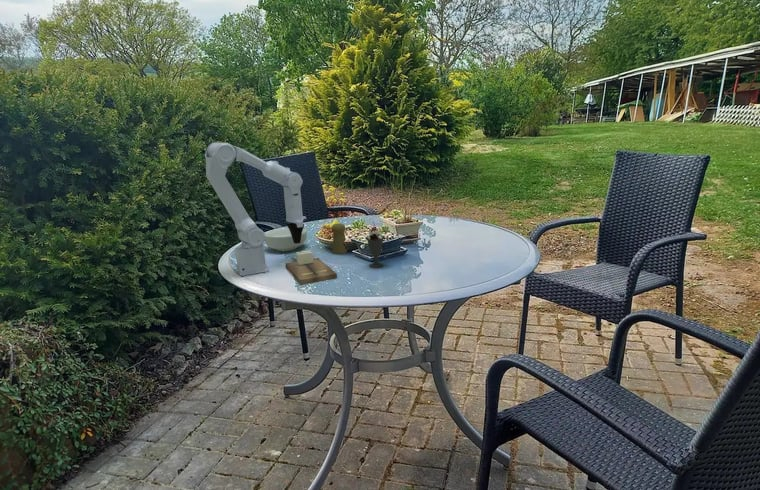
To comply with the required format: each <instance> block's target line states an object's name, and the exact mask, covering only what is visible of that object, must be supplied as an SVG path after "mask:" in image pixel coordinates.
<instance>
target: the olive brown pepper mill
mask: <svg viewBox="0 0 760 490" xmlns="http://www.w3.org/2000/svg"><path fill="white" fill-rule="evenodd" d="M345 231H346V226H345V224H343V223H333V224H332V226H331V232H332V248H331V253H332V254H333V253H334V255H343V254H347V253H348V252H347V250H348V249H347V250H346V249H345V246H344V245H343V244H342V243H343V242H344V241H345V240H346V236H345V235H346V234H345ZM346 252H347V253H346Z"/></svg>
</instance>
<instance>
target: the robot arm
mask: <svg viewBox="0 0 760 490" xmlns="http://www.w3.org/2000/svg"><path fill="white" fill-rule="evenodd" d="M204 159H205V176H206V178H207V180H208V182H209V183H210V185H211V186H212V188H213V190H214V191H215V193H216V195H217V196H218V198H219V199H220V201H221V203H222V204H223V206H224V208H225V209H226V211H227V212H228V214H229V216H230V217H231V219H232V220H233V222H234V225H235V228H236V231H237V237H238V239H239V240H240V241H241V246H239V247H235V250H234V252H235V260H236V269H237V272H238V273H239V275H240V277H243V276H250V275H255V274H261V273H266V272H269V271H270V270H269V268H268V266H267V264H266V256H265V255H266V254H265V245H264V243H265V234H264V233H265V232H264V231H263V229H261V228H259V227H258V226H257V224H256V222H254V220H253V219H252V218H251V217H250V215H249V214H248V212H247V210H246V209H245V208H244V205H243V204H242V202H241V200H240V198H239V197H238V195H237V194H236V192H235V190H234V188H233V186H232V185H231V183H230V182H229V181H228V178H227V177H226V174H227V171H228V168H229V167H230V166H231V165H232V163H233V162H242V163H244V164H246V165H249V166H251V167H253V168H255V169H257V170H259V171H261V173H262V175H263V176H264V177H265V178H267V179H269V180H272V181H274V182H275V183H278V184H280V185H281V187H283V198H284V206H285V208H284V209H285V214H286V215H285V216H286V218H285V221H286V222H287V224H286V226H287V227H286V228H289V230H290V233H291V236H292V239H293V242H294V243H295V244H297V243H300V242H301V235H302V230H303V229H305V224H304V220H307V217H306V216H305V215H304V214H303V204H302V193H301V187H302V185H303V183H304V182H303V181H304V179H302V176H301V175H300V174H299V173H298V172H295V171H291V168H289V167H285V166H283V165H280V164H279V161H276V160H269V161H265V160H263V159H261V158H259V157H257V155H254V154H252V153H251V152H249V151H247V150H245V149H243V148H241V147H238V146H235V145H232V144H231V143H228V142H219V141H215V142H212V143H210V144H209V145H208V146H207V149H206V151H205V154H204ZM303 215H304V216H303Z"/></svg>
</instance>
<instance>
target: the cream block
mask: <svg viewBox="0 0 760 490" xmlns="http://www.w3.org/2000/svg"><path fill="white" fill-rule="evenodd" d="M313 255H314V254H313V252H312V250H311V249H309V250H302V251H297V252H295V258H296V261H297V264H298V265H303V264H309V263H313V259H314V257H313Z"/></svg>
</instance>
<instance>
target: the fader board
mask: <svg viewBox="0 0 760 490" xmlns="http://www.w3.org/2000/svg"><path fill="white" fill-rule="evenodd" d="M284 264H285V268H286V269H287V271H288V272H289V273H290V275H292V277H293V278H294V279H295V280H296V282H298V284H299V285H300V286H301V285H306V284H312V283H318V282H323V281H328V280H334V279H338V274H337V272H336V271H334V270H333V269H332V268H331V267H330V266H329V265H328V264H326V263H325V262H324V261H323V260H322V259H320V258H319V257H316V258H314V257H313V263H309V264H303V265H298V264H297V260H296V261H291V262H285V263H284Z"/></svg>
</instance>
